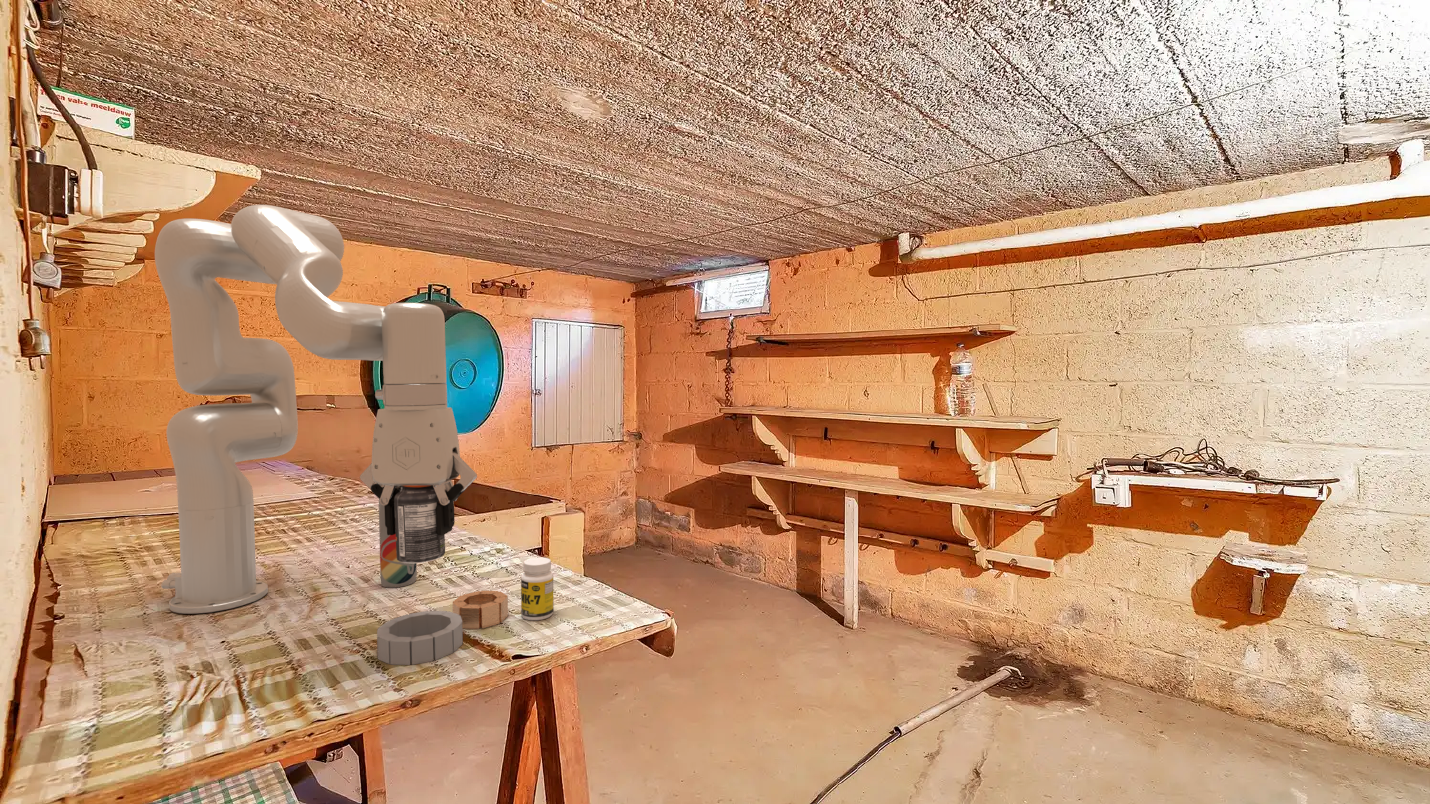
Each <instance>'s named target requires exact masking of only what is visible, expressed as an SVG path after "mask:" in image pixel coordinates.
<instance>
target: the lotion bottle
mask: <svg viewBox="0 0 1430 804" xmlns="http://www.w3.org/2000/svg"><path fill="white" fill-rule="evenodd" d="M378 525H379V526H378V529H379V530H378V531H379V534H378V535H379V536H378V537H379V539H378V540H379V571H380V572H379V574H380V584H381V586H382V587H384V588H392V589H393V588H402V587H406V586H409V585H412V584H413V583H416V582H417V575H418V574H417V570H418V568H417V564H418V563H414V564H409V563H402V562H399V561H398V560H397V554H396V534H394V535H387V527H386V526H385V508H384V505H382V504H381V503H380V499H379V498H378Z"/></svg>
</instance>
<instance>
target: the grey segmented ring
mask: <svg viewBox="0 0 1430 804" xmlns="http://www.w3.org/2000/svg"><path fill="white" fill-rule="evenodd" d="M376 638H377V639H376V642H377V643H376V646H377V648H376V650H377V659H378V660H379V661H381V662H383V663H386V664H387V665H396V666H410V665H412V666H413V665H418V664H424V663H429V662H433V661H437V660H440V659H442V658H444V657H447V656H449V655H451V654H454V653H455V652H456V651H457V650H458V649H459V648H460V647H461V646H462V645H463V644H464V643H463V640H464V639H463V638H464V637H463V629H462V619H461V615H458V614H456V613H453V611H447V610H424V611H419V612H412V613H411V612H410V613H409V614H404V615H401V616H397V617H395V618H391V619H390V620H387V621H386V622H384V623H383V624H382V625H380V626H379V627H378V628H377V629H376Z"/></svg>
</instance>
